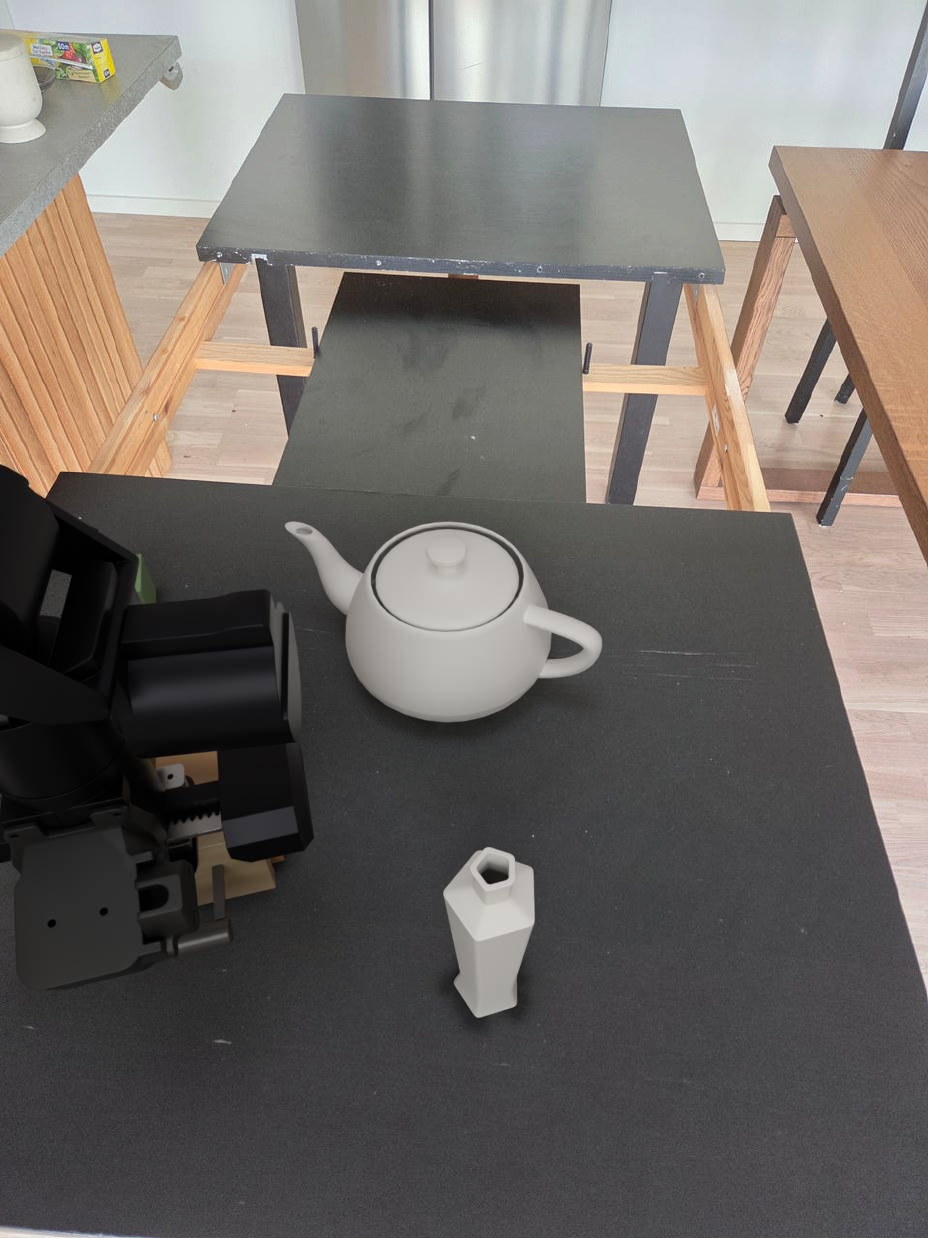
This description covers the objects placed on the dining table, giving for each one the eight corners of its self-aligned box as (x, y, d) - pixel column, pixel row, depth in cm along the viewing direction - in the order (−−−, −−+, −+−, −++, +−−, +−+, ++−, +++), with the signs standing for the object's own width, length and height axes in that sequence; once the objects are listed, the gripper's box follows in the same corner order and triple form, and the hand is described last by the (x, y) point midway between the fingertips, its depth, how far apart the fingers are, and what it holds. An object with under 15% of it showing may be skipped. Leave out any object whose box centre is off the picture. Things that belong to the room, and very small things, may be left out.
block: (100, 638, 68) (82, 600, 65) (102, 600, 71) (85, 562, 68) (156, 628, 69) (140, 590, 66) (156, 590, 72) (141, 553, 69)
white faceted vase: (449, 943, 51) (444, 822, 40) (521, 945, 51) (536, 824, 40) (446, 1023, 48) (439, 915, 37) (522, 1025, 48) (539, 919, 37)
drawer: (284, 961, 50) (263, 914, 45) (83, 1011, 48) (38, 967, 43) (258, 717, 62) (240, 658, 57) (97, 749, 60) (63, 691, 55)
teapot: (620, 638, 68) (644, 524, 59) (554, 793, 58) (570, 685, 49) (350, 552, 75) (333, 437, 66) (251, 678, 65) (216, 564, 56)
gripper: (-250, 989, 28) (-43, 1103, 40) (303, 863, 31) (347, 1003, 43) (-169, 725, 36) (-13, 886, 47) (274, 643, 39) (319, 813, 50)
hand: (158, 898), depth 47 cm, fingers closed
